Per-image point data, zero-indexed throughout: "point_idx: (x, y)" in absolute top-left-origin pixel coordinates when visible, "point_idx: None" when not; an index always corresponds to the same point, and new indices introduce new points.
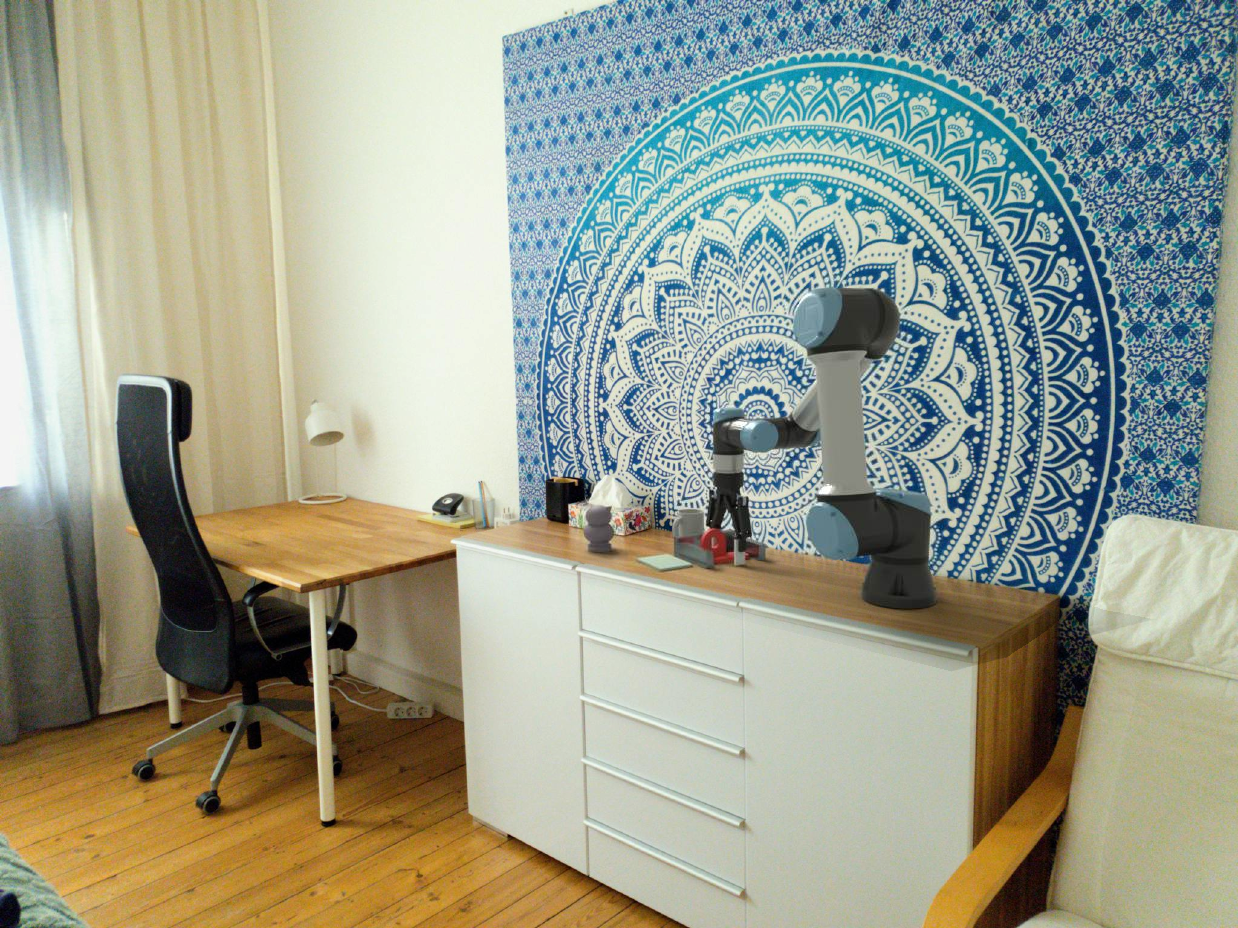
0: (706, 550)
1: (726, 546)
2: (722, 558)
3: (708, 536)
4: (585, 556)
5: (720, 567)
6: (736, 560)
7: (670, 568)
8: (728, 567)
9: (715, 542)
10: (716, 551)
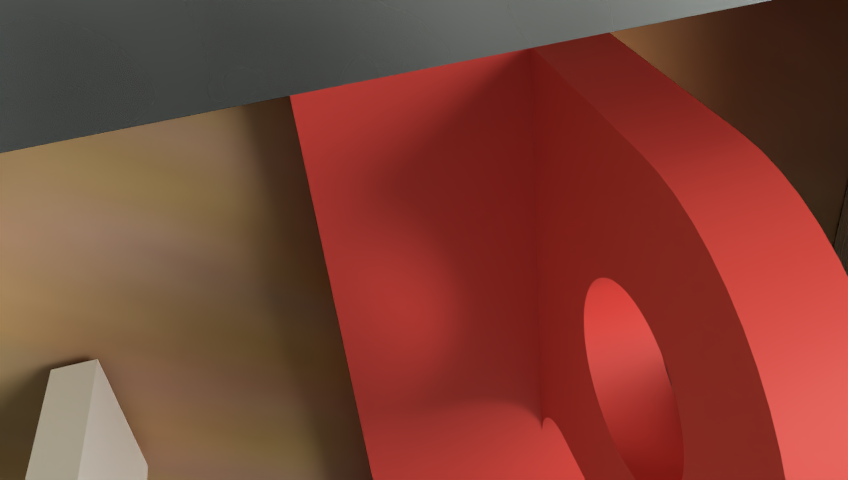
0: (119, 34)
1: None
2: (344, 299)
3: (713, 379)
4: None
5: None
6: (43, 428)
7: None
8: (4, 253)
9: None
10: (562, 311)
